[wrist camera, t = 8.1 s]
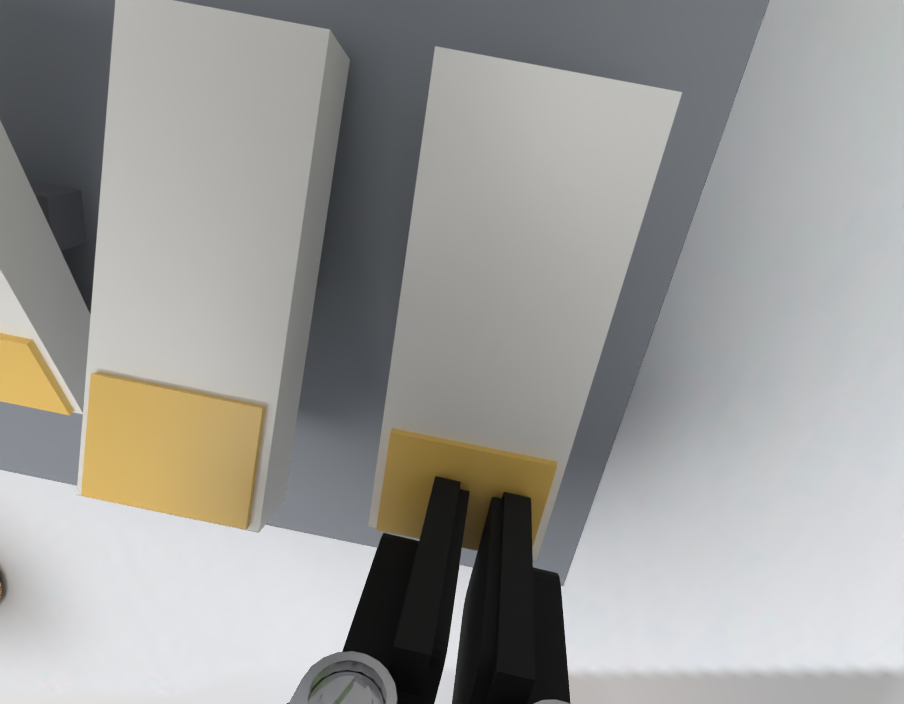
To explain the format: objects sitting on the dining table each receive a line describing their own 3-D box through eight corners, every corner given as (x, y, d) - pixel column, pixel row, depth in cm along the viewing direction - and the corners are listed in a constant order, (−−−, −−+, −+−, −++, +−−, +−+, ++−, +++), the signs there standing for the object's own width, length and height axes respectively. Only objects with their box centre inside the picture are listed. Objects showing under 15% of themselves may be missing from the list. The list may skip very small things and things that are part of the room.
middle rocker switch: (164, 24, 11) (109, -15, 9) (349, 59, 10) (327, 25, 9) (123, 467, 12) (70, 498, 11) (284, 501, 12) (255, 537, 10)
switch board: (-106, -233, 12) (-330, -353, 9) (754, -78, 11) (845, -146, 8) (17, 416, 18) (-83, 480, 15) (557, 526, 18) (566, 616, 15)
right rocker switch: (445, 54, 9) (433, 45, 8) (658, 94, 9) (685, 91, 8) (382, 485, 13) (366, 531, 12) (534, 516, 13) (536, 566, 12)
